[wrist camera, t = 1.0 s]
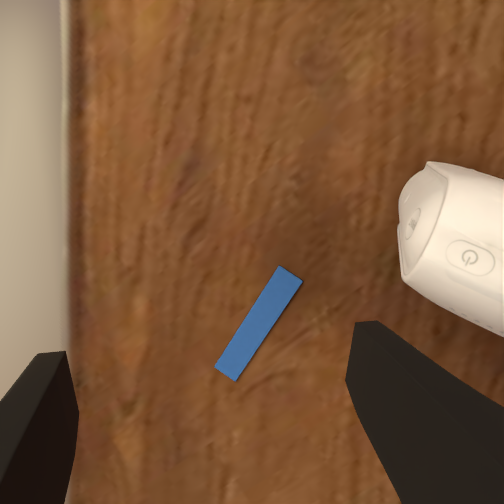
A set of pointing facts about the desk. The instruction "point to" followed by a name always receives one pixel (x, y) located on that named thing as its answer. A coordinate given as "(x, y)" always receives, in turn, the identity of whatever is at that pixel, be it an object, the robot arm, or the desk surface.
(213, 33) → the desk surface
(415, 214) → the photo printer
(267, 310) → the tape marks
